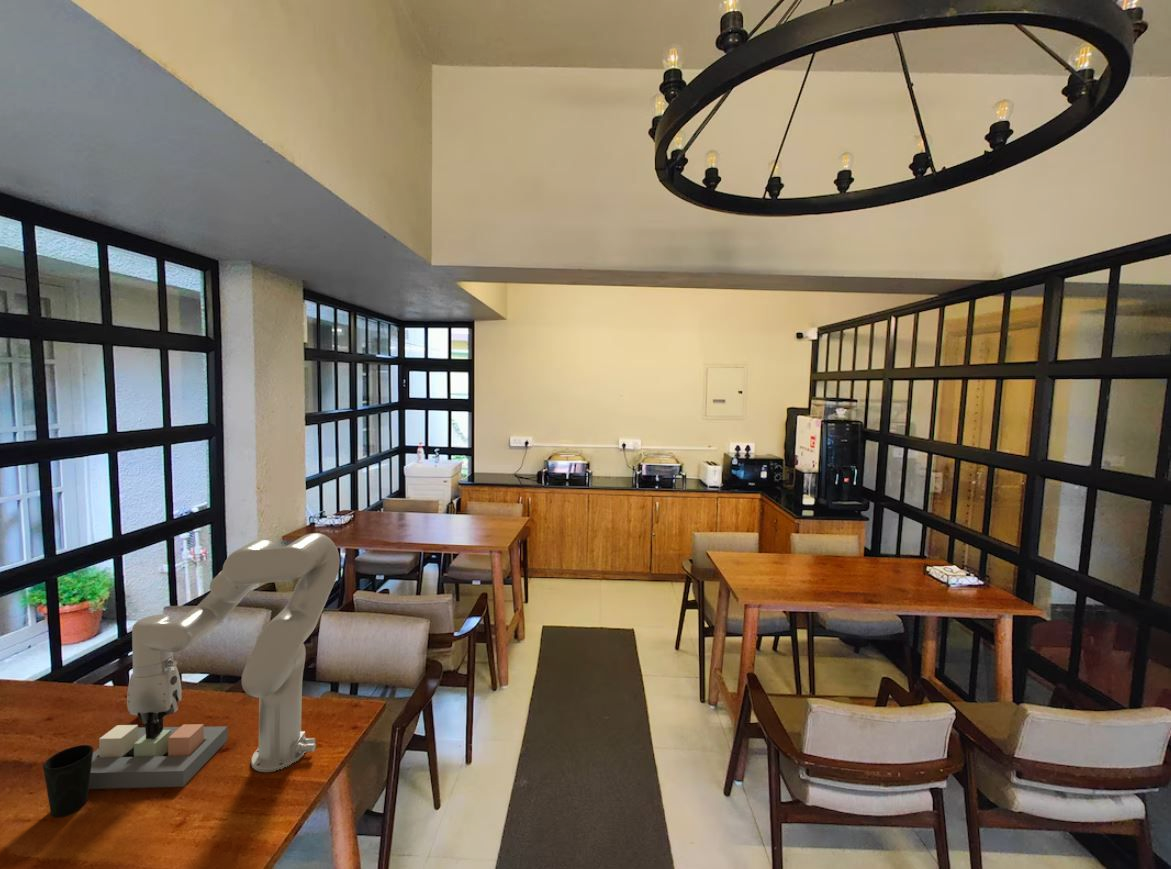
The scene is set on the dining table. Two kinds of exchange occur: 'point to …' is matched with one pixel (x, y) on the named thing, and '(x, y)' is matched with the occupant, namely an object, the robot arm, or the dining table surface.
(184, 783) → the console
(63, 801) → the cup
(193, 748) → the terracotta button
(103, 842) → the dining table surface
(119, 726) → the cream button
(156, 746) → the green button
